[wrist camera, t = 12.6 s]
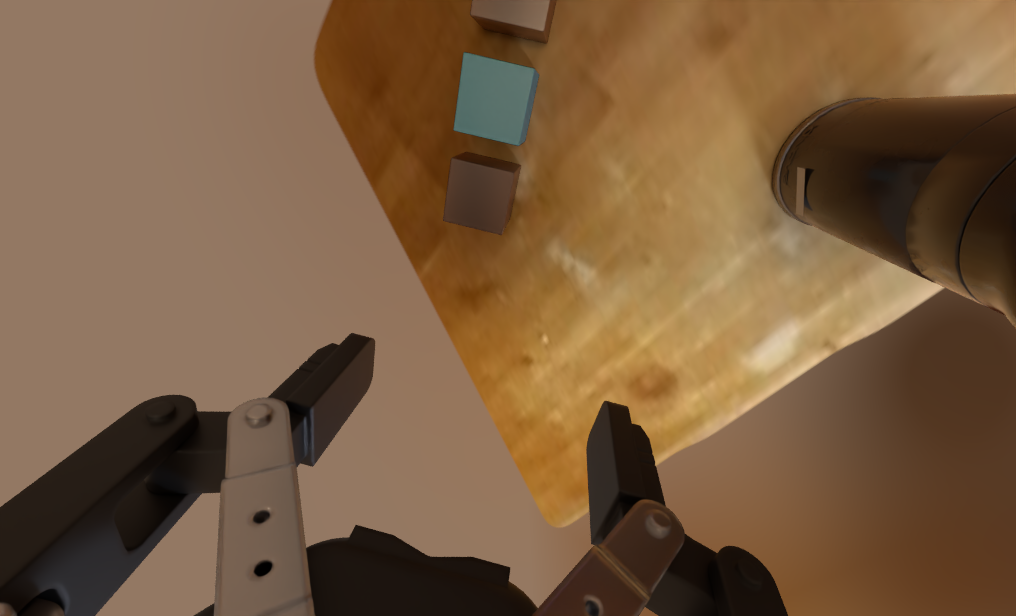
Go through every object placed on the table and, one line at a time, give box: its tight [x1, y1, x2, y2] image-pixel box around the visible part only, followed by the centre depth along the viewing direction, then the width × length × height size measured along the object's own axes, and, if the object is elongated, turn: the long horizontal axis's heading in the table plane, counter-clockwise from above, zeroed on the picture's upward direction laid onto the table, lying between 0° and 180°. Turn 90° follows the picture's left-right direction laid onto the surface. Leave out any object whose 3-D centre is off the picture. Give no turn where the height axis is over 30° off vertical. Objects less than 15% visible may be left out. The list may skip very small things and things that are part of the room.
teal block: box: [454, 52, 539, 146], centre depth 30 cm, size 5×5×5 cm
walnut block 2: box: [443, 152, 521, 235], centre depth 33 cm, size 5×5×5 cm
